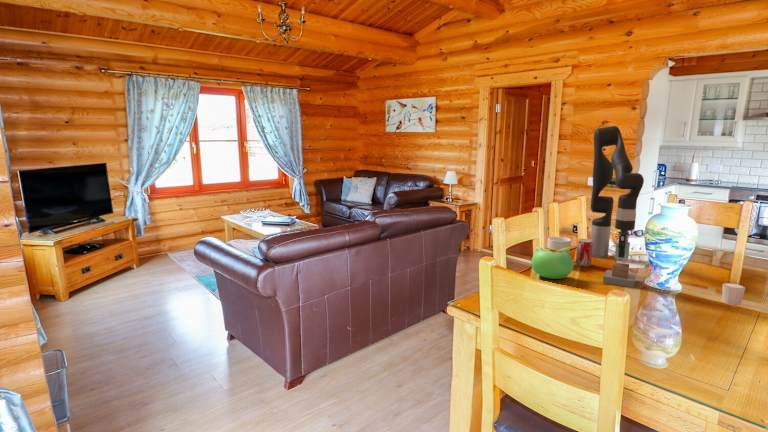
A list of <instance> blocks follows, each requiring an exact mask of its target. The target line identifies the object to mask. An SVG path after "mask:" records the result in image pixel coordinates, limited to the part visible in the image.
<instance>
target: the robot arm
mask: <svg viewBox="0 0 768 432" xmlns="http://www.w3.org/2000/svg"><path fill="white" fill-rule="evenodd" d="M610 146H615V148H614V151H613V152H612V155H611V157H610V159H609V158H608V157H607V156H606V155H605V154H604V152H603V148H605V147H610ZM593 155H594V156H593V168H592V190H591V191H592V192H591V198H590V210H591V212H592V213H596V214H604V215H603V216H601V217H597V218H593V219H592V222H591V232H590V240H591V241H592V244H593V248H592V258H593V257H594V258H598V259H599V258H608V257H609V249H610V237H611V229H612V228H611V227H612V216H613V210H614V209H613V208H614V201H615V200H614V198H613V196H609V195H607V196H606V195H605V196H604V195H600V194H601V192H602V191H603V190H604V189H605V188H606V187H607V186H608V185H609V184H611V182H612V181H613V177H614V176H615V179H614V180H615V186H616V188H617V189H619V190H629V192H628V193H625V194H620V195H619V196H618V199H617V210H616V214H615V224H614V229H616V230H620V232H619V233H618V235H617V237H618V240H617V241H618V243H619V246H618V247H619V255H618V257H621V258H624V254H625V249H626V248H625V247H626V244H627V242H629V238H630V232H629V231H634V230H635V228H636V227H635V226H636V217H637V201H638V198H639V195H640V193H641V190H642V188H643V186H644V181H645V179H644V176H643V174H641V173H639V172H637V173H636V172H633V168H634V167H633V165H632V163H631V161H630V159H629V157H628V154H627V151H626V147H625V143H624V139H623V135H622V133H621V129H620V128H619V127H618V126H616V125H613V126H612V125H610V126H603V127H599V128H596V129H595V130H594V133H593ZM614 174H615V175H614ZM621 244H624V246H620V245H621Z"/></svg>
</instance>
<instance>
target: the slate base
mask: <svg viewBox="0 0 768 432" xmlns="http://www.w3.org/2000/svg"><path fill="white" fill-rule="evenodd" d="M636 281H637V273H631V272H629V273H628V277H627V278H623V277H616V276H612V269H606V270H605V272H604V274H603V279H602V283H603V284H608V285H615V286H620V287H626V288H631V289H634V288H635V285H636Z"/></svg>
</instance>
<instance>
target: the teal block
mask: <svg viewBox="0 0 768 432" xmlns="http://www.w3.org/2000/svg"><path fill="white" fill-rule="evenodd" d="M618 246H619V243H618V240H617V241H616V242H615V248H614V249H615V251H614V253H615V254H614V259H619V260H624V261H628V260H629V256H630V249H631V248H630V247H631V242H630V241H628V242H627V244H626V247H625V248H626V249H625V254H624V258H621V257H618V255H619V247H618ZM620 246H624V244H621V245H620Z"/></svg>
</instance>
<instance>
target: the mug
mask: <svg viewBox="0 0 768 432" xmlns="http://www.w3.org/2000/svg"><path fill="white" fill-rule="evenodd" d="M571 244H572V239H571V238H568V237H563V236H550V237H549V236H548V239H547V245H546V246H547V247H546V248H553V249H563V248H567V247H572V246H571ZM570 253H571V250H569V251H568V252H567V254H569V255H570Z"/></svg>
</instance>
